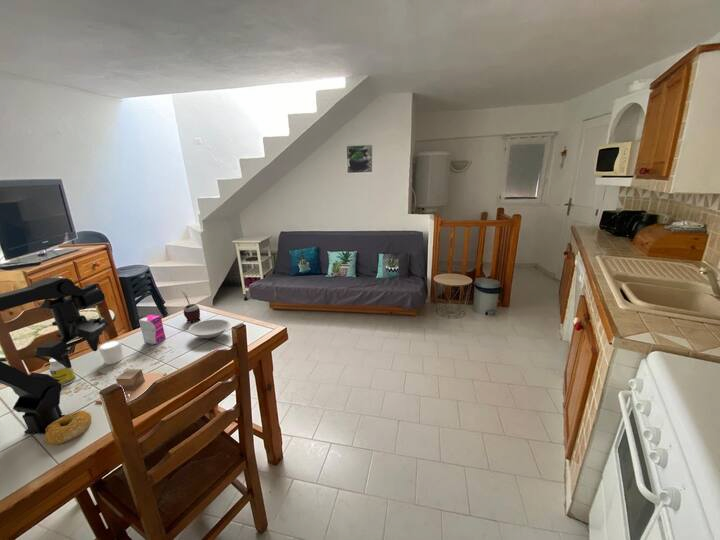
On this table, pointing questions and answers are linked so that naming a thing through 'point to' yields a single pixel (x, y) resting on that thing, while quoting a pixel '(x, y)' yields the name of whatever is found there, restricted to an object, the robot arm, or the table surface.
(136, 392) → the tile mat
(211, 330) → the dish
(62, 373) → the supplement bottle
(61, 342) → the robot arm
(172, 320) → the table surface
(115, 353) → the white cup
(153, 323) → the supplement box
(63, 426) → the bagel
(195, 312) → the mate gourd
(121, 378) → the walnut cube
